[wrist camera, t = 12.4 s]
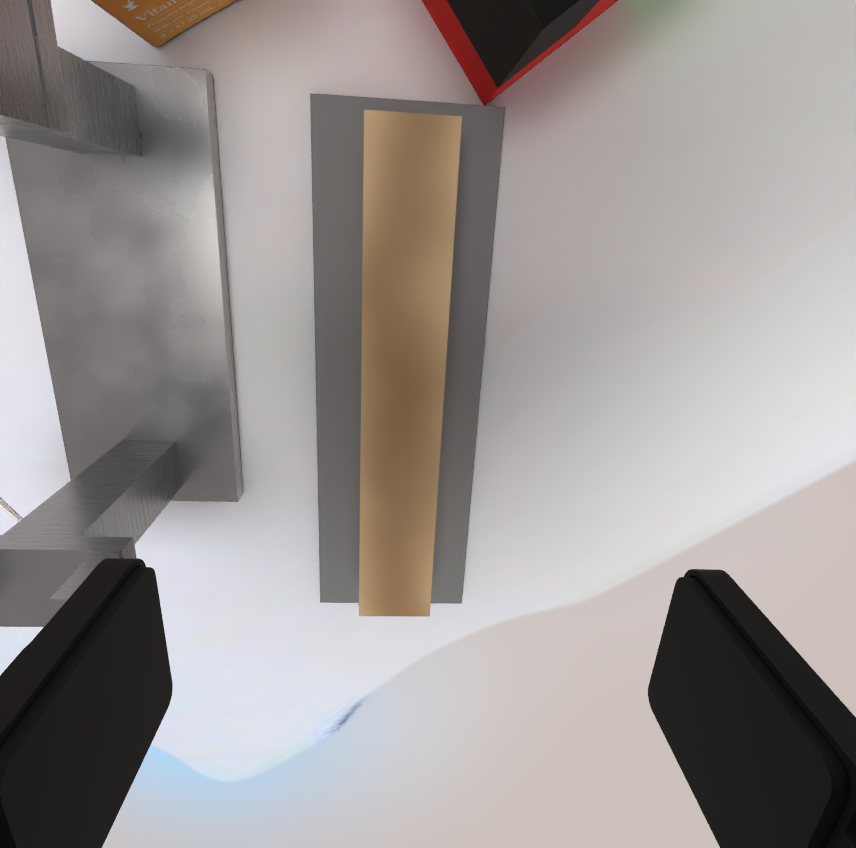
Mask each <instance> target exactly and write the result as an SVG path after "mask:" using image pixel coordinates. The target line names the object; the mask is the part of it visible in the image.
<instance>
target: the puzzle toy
mask: <svg viewBox="0 0 856 848" xmlns="http://www.w3.org/2000/svg"><path fill="white" fill-rule="evenodd" d="M422 1H423V3H424V5H425V6H426V8H427V10H428V12H429V13H430V15H431V17H432V18H433V20H434V22H435V23H436V25H437V27H438V28H439V30H440V32H441V34H442V35H443V37H444V39H445V40H446V42H447V44H448V45H449V47H450V49H451V51H452V52H453V54H454V56H455V57H456V59H457V61H458V62H459V64H460V66H461V67H462V69H463V71H464V73H465V74H466V76H467V78H468V79H469V81H470V83H471V84H472V86H473V88H474V90H475V91H476V93H477V95H478V96H479V98H480V100H481V101H482V103H483V105H484V106H485V105H486V104H488V103H489V102H490V101H491V100H493V99H494V98H495V97H496V96H498V95H499V94H500V93H502V92H503V91H504V90H505V89H507V88H508V87H509V86H510V85H512V84H513V83H514V82H515V81H517V80H518V79H519V78H520V77H522V76H523V75H524V74H526V73H527V72H528V71H529V70H531V69H532V68H533V67H534V66H536V65H537V64H538V63H539V62H541V61H542V60H543V59H544V58H546V57H547V56H548V55H550V54H551V53H552V52H553V51H555V50H556V49H557V48H558V47H560V46H561V45H562V44H563V43H565V42H566V41H567V40H569V39H570V38H571V37H572V36H574V35H575V34H576V33H577V32H579V31H580V30H581V29H582V28H584V27H585V26H586V25H587V24H589V23H590V22H591V21H593V20H594V19H595V18H596V17H598V16H599V15H600V14H601V13H603V12H604V11H605V10H606V9H608V8H609V7H610V6H611V5H613V4H614V3H615V2H617V1H618V0H422Z"/></svg>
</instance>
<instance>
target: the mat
mask: <svg viewBox="0 0 856 848" xmlns="http://www.w3.org/2000/svg"><path fill="white" fill-rule="evenodd" d="M310 100H311V151H312V202H313V252H314V303H315V354H316V405H317V456H318V507H319V558H320V602H326V603H359V553H360V457H361V362H362V266H363V170H364V110H377V111H391V112H406V113H420V114H435V115H449V116H462V124H461V139H460V155H459V170H458V185H457V201H456V216H455V232H454V247H453V263H452V278H451V294H450V309H449V324H448V340H447V355H446V371H445V386H444V402H443V417H442V433H441V448H440V464H439V479H438V494H437V510H436V525H435V541H434V556H433V572H432V587H431V603H462V593H463V582H464V571H465V559H466V548H467V536H468V525H469V514H470V502H471V491H472V479H473V468H474V457H475V445H476V434H477V422H478V411H479V399H480V388H481V377H482V365H483V354H484V342H485V331H486V320H487V308H488V297H489V285H490V274H491V263H492V251H493V240H494V228H495V217H496V205H497V194H498V183H499V171H500V160H501V148H502V137H503V126H504V114H505V107H497V106H483V105H468V104H454V103H440V102H426V101H411V100H397V99H383V98H369V97H354V96H340V95H326V94H311V93H310Z"/></svg>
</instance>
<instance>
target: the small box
mask: <svg viewBox="0 0 856 848" xmlns="http://www.w3.org/2000/svg"><path fill="white" fill-rule="evenodd" d="M91 1H93V2H94V3H95V4H97V5H98V6H99V7H101V8H102V9H103V10H105V11H106V12H107V13H109V14H110V15H112V16H113V17H114V18H116V19H117V20H119V21H120V22H121V23H123V24H124V25H125V26H127V27H128V28H129V29H131V30H132V31H133V32H135V33H136V34H137V35H139V36H140V37H141V38H143V39H144V40H145V41H147V42H148V43H149V44H151V45H152V46H154V47H159V46H161V45H162V44H164V43H165V42H167V41H168V40H170V39H171V38H173V37H174V36H176V35H177V34H179V33H181V32H182V31H184V30H186V29H187V28H189V27H191V26H192V25H194V24H196V23H198V22H199V21H201V20H203V19H204V18H206V17H208V16H209V15H211V14H213V13H215V12H217V11H219V10H220V9H222V8H224V7H226V6H227V5H229V4H231V3H233V2H234V1H236V0H91Z"/></svg>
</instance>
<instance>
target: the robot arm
mask: <svg viewBox="0 0 856 848" xmlns="http://www.w3.org/2000/svg"><path fill="white" fill-rule="evenodd" d="M171 696H172V678H171V672H170V665H169V659H168V652H167V646H166V639H165V633H164V626H163V620H162V613H161V607H160V600H159V594H158V587H157V581H156V575H155V571H154V569H153V568H151V567H146V566H145V563H144V562H143V560H141V559H129V558H106V559H103V560H102V561H101V562H100V563H99V564H98V565H97V566H96V567H95V569H94V570H93V571H92V572H91V573H90V574H89V575H88V577H87V578H86V579H85V580H84V581H83V582H82V584H81V585H80V586H79V587H78V588H77V589H76V591H75V592H74V593H73V594H72V595H71V596H70V598H69V599H68V600H67V601H66V602H65V603H64V604H63V606H62V607H61V608H60V609H59V610H58V611H57V613H56V614H55V615H54V616H53V617H52V618H51V620H50V621H49V622H48V623H47V624H46V625H45V627H44V628H43V629H42V630H41V631H40V632H39V633H38V635H37V636H36V637H35V638H34V639H33V640H32V642H31V643H30V644H28V645H27V646H26V647H25V648H24V649H23V650H22V651H21V652H20V654H19V655H18V656H17V657H16V658H15V659H14V661H13V662H12V663H11V664H10V665H9V666H8V667H7V669H6V670H5V671H4V672H3V673H2V674H1V676H0V848H102V846H103V843H104V842H105V840H106V838H107V835H108V833H109V831H110V829H111V827H112V825H113V823H114V821H115V819H116V816H117V814H118V812H119V810H120V808H121V806H122V804H123V801H124V800H125V797H126V795H127V793H128V791H129V789H130V787H131V785H132V783H133V781H134V778H135V776H136V774H137V772H138V770H139V768H140V766H141V764H142V761H143V759H144V757H145V755H146V753H147V751H148V749H149V747H150V745H151V743H152V740H153V738H154V736H155V734H156V732H157V730H158V728H159V726H160V724H161V721H162V719H163V717H164V715H165V713H166V711H167V709H168V706H169V704H170V700H171ZM648 697H649V703H650V706H651V709H652V711H653V713H654V715H655V717H656V719H657V721H658V723H659V725H660V727H661V729H662V731H663V733H664V735H665V737H666V739H667V741H668V743H669V745H670V747H671V749H672V751H673V754H674V755H675V758H676V760H677V762H678V764H679V766H680V768H681V769H682V772H683V774H684V776H685V778H686V780H687V782H688V783H689V786H690V788H691V790H692V792H693V794H694V796H695V798H696V799H697V802H698V804H699V806H700V808H701V810H702V812H703V814H704V816H705V818H706V820H707V822H708V824H709V826H710V828H711V830H712V832H713V834H714V836H715V838H716V840H717V842H718V844H719V846H720V848H856V717H855V716H854V715H853V714H852V713H851V712H850V711H849V710H848V709H847V707H846V706H845V705H844V704H843V703H842V702H841V701H840V699H839V698H838V697H837V696H836V695H835V694H834V693H833V692H832V690H831V689H830V688H829V687H828V686H827V685H826V684H825V683H824V682H823V680H822V679H821V678H820V677H819V676H818V675H817V674H816V672H815V671H814V670H813V669H812V668H811V667H810V666H809V665H808V663H807V662H806V661H805V660H804V659H803V658H802V657H801V656H800V654H799V653H798V652H797V651H796V650H795V649H794V648H793V647H792V645H791V644H790V643H789V642H788V641H787V640H786V639H785V638H784V636H783V635H782V634H781V633H780V632H779V631H778V630H777V629H776V627H775V626H774V625H773V624H772V623H771V622H770V621H769V620H768V618H767V617H766V616H765V615H764V614H763V613H762V612H761V611H760V609H758V607H757V606H756V605H755V604H754V603H753V602H752V600H751V599H750V598H749V597H748V596H747V595H746V594H745V593H744V591H743V590H742V589H741V588H740V587H739V586H738V585H737V584H736V582H735V581H734V580H733V579H732V578H731V577H730V576H729V575H728V574H727V573H726V572H725V571H722V570H700V569H691V570H688V571H687V572H686V574H685V576H684V577H681V578H679V579H678V580H677V581H676V584H675V587H674V591H673V595H672V599H671V603H670V606H669V610H668V614H667V618H666V622H665V626H664V629H663V633H662V637H661V641H660V645H659V648H658V652H657V656H656V660H655V664H654V668H653V671H652V675H651V679H650V683H649V687H648Z"/></svg>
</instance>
